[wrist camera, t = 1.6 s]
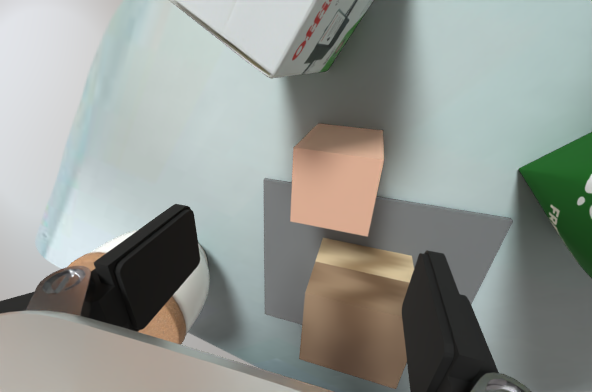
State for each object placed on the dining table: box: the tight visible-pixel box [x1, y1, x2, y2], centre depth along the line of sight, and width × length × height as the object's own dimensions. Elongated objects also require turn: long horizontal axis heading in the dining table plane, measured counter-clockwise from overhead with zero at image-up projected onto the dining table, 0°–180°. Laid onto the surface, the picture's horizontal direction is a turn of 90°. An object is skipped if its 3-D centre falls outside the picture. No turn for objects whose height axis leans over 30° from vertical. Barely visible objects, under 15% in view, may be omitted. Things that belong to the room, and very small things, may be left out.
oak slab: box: [316, 238, 414, 283], centre depth 25 cm, size 8×8×4 cm
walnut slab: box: [299, 261, 409, 389], centre depth 22 cm, size 8×8×4 cm
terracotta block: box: [290, 123, 384, 237], centre depth 19 cm, size 5×5×7 cm
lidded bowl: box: [68, 230, 210, 345], centre depth 28 cm, size 13×13×11 cm
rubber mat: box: [264, 178, 513, 324], centre depth 27 cm, size 20×18×1 cm
